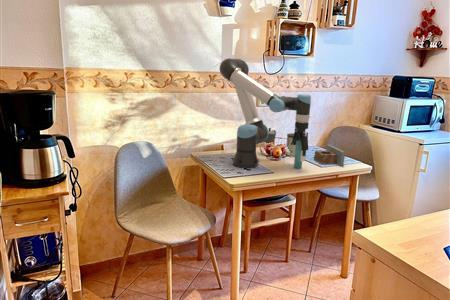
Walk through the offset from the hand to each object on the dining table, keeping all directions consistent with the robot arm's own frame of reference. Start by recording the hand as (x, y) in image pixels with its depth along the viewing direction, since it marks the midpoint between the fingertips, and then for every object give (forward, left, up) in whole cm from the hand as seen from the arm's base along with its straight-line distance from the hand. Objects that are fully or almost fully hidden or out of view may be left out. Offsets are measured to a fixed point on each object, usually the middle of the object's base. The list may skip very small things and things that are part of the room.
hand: (298, 158), depth 196 cm
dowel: (0, 0, -6) cm, 6 cm away
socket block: (+23, +11, -6) cm, 26 cm away
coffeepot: (-8, +32, -6) cm, 34 cm away
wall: (+29, +11, -6) cm, 32 cm away
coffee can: (+8, +28, -6) cm, 30 cm away
